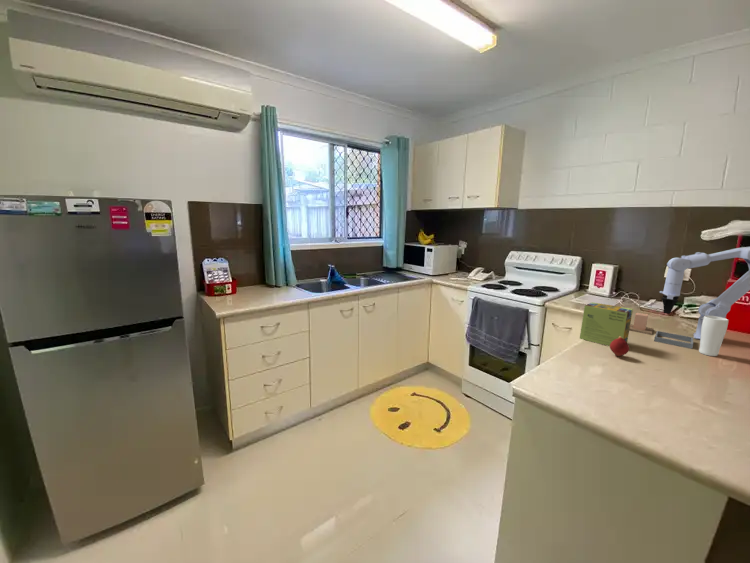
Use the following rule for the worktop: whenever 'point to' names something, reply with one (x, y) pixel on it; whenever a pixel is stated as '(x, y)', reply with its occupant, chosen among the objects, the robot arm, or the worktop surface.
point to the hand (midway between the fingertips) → (667, 311)
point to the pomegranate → (619, 346)
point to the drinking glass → (712, 334)
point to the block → (640, 321)
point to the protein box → (605, 323)
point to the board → (646, 331)
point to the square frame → (673, 342)
